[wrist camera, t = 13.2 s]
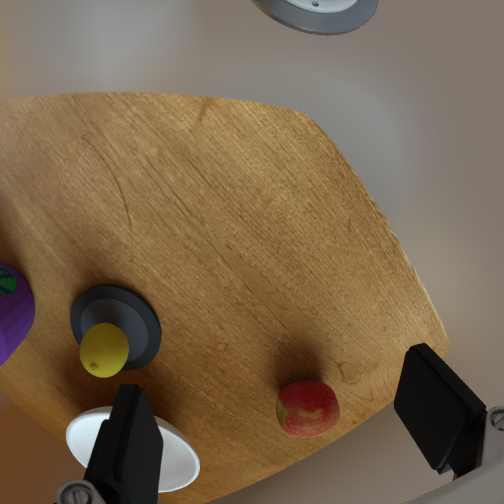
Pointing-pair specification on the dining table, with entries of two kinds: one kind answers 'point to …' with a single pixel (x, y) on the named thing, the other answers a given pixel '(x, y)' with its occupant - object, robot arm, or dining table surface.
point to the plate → (119, 320)
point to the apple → (307, 408)
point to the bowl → (173, 458)
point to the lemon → (104, 350)
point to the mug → (14, 311)
